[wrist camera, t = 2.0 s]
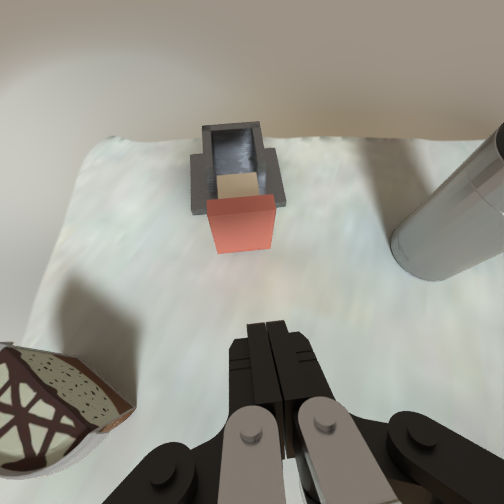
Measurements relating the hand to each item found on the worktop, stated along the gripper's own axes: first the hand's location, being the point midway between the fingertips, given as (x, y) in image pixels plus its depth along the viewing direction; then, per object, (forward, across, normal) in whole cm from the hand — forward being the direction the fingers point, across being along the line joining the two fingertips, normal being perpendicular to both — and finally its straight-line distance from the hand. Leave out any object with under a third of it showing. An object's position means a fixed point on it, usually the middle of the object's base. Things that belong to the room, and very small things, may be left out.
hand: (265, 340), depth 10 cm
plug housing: (+34, 0, -4) cm, 34 cm away
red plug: (+27, 0, +1) cm, 27 cm away
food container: (+14, +19, +17) cm, 29 cm away
